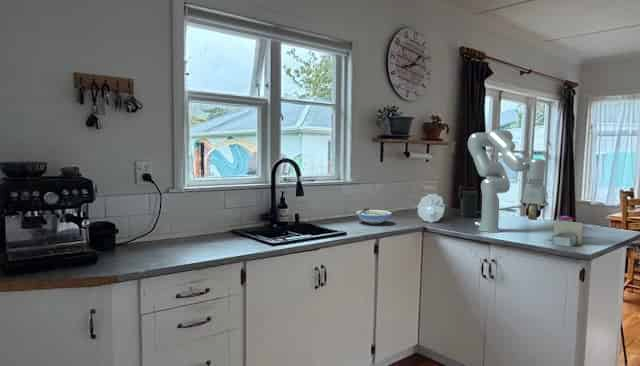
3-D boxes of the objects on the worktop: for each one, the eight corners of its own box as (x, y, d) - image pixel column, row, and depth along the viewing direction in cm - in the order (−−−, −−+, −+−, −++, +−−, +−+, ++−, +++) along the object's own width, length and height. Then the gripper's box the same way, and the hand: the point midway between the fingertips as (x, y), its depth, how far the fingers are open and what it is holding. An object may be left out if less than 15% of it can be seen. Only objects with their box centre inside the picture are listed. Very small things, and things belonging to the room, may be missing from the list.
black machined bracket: (472, 214, 317) (474, 185, 315) (477, 218, 297) (479, 187, 295) (456, 213, 319) (457, 184, 317) (460, 218, 299) (461, 187, 297)
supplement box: (555, 236, 237) (556, 216, 236) (565, 236, 237) (566, 216, 236) (562, 238, 231) (563, 217, 230) (572, 238, 231) (573, 217, 231)
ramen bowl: (388, 227, 257) (388, 214, 257) (351, 225, 264) (351, 212, 264) (394, 221, 281) (394, 209, 280) (360, 219, 288) (361, 207, 287)
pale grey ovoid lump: (423, 228, 277) (425, 221, 301) (449, 218, 272) (449, 211, 296) (411, 203, 278) (414, 197, 301) (437, 193, 272) (438, 188, 296)
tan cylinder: (526, 218, 225) (527, 204, 224) (529, 217, 228) (530, 203, 227) (535, 220, 222) (536, 205, 221) (538, 219, 225) (539, 204, 224)
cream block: (547, 243, 218) (548, 222, 217) (553, 240, 226) (555, 219, 225) (575, 247, 209) (577, 225, 208) (581, 244, 217) (582, 222, 216)
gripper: (516, 181, 226) (513, 214, 228) (550, 184, 214) (547, 219, 216) (521, 180, 231) (518, 213, 233) (555, 183, 219) (552, 218, 221)
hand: (532, 216), depth 225 cm, fingers closed on tan cylinder, 4 cm apart
